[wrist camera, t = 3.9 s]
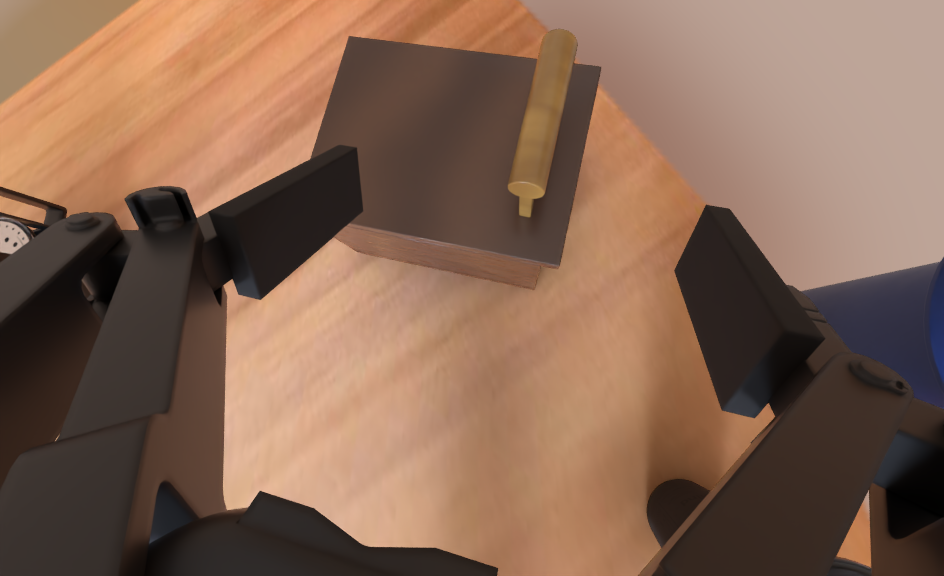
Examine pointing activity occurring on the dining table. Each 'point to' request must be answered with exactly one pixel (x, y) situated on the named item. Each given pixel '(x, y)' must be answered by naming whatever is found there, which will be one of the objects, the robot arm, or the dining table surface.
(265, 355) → the dining table surface
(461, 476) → the dining table surface
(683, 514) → the drinking cup
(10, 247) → the french press
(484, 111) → the chest door
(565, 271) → the dining table surface
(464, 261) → the chest
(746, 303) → the robot arm
